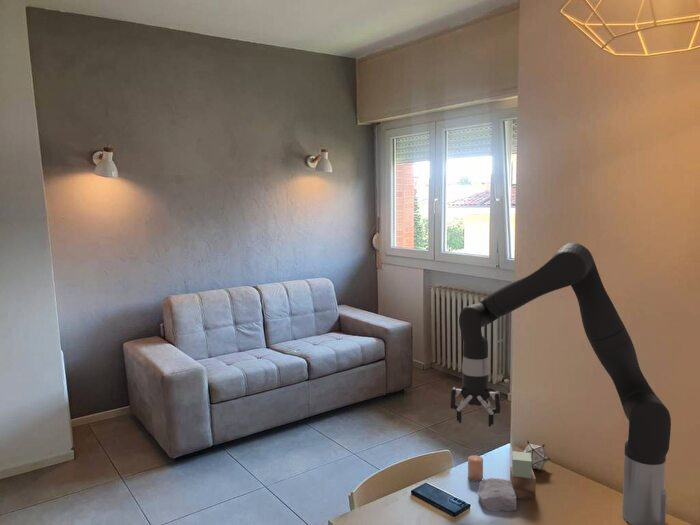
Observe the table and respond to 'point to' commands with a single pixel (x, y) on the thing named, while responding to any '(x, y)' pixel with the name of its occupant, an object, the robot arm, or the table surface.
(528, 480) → the walnut cube
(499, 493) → the stone block
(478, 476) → the terracotta cylinder
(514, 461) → the sage cube
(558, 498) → the table surface
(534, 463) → the white knobbed polyhedron
